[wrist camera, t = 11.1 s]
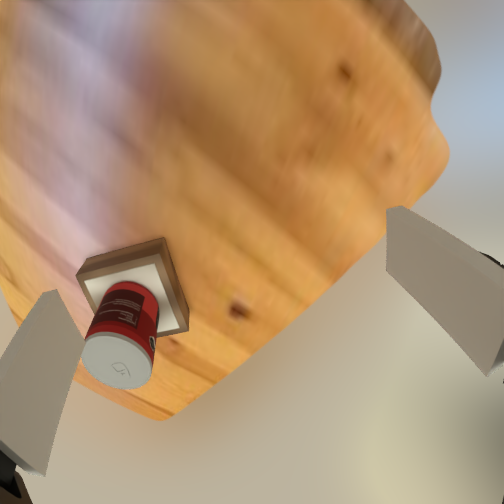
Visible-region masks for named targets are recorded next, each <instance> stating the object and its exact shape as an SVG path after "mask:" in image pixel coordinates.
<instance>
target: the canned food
mask: <svg viewBox="0 0 504 504" xmlns="http://www.w3.org/2000/svg"><path fill="white" fill-rule="evenodd" d="M159 316H160V310H159V307H158V303H157V301H156V299H155V297H154V296H153V294H152V293H151V292H150V291H149V290H148V289H147V288H145V287H144V286H142V285H140V284H138V283H134V282H128V281H126V282H119V283H116V284H115V285H113V286H111V287H110V288H109V289H108V290H107V291H106V292H105V294H104V296H103V298H102V300H101V302H100V305H99V307H98V309H97V311H96V314H95V316H94V318H93V320H92V323H91V325H90V327H89V330H88V332H87V334H86V337H85V342H86V344H85V347H84V349H83V352H82V355H81V358H82V362H83V364H84V366H85V368H86V369H87V370H88V372H89V373H90V374H91V375H92V376H93V377H94V378H96V379H97V380H98V381H100V382H102V383H104V384H106V385H108V386H110V387H114V388H118V389H135V388H138V387H141V386H143V385H144V384H146V383H147V381H148V380H149V378H150V376H151V373H152V367H153V361H154V353H155V345H156V337H157V330H158V323H159Z"/></svg>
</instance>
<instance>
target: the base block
mask: <svg viewBox="0 0 504 504" xmlns="http://www.w3.org/2000/svg"><path fill="white" fill-rule="evenodd" d="M75 276H76V278H77V280H78V282H79V284H80V286H81V288H82V291H83V293H84V295H85V297H86V299H87V301H88V303H89V305H90V307H91V309H92V311H93V312H94V314H96V311H97V309H98V307H99V305H100V302H101V300H102V298H103V296H104V294H105V292H106V291H107V290H108V289H109V288H110V287H111V286H113V285H115V284H116V283H119V282H126V281H128V282H134V283H138V284H140V285H142V286H144V287H145V288H147V289H148V290H149V291H150V292H151V293H152V294H153V296H154V297H155V299H156V301H157V303H158V307H159V310H160V316H159V323H158V330H157V337H156V338H158V337H163V336H168V335H173V334H177V333H182V332H187V331H189V308H188V305H187V303H186V300H185V297H184V294H183V292H182V289H181V286H180V283H179V280H178V277H177V275H176V272H175V269H174V266H173V263H172V260H171V257H170V254H169V251H168V248H167V245H166V242H165V239H164V238H160V239H157V240H153V241H149V242H145V243H141V244H138V245H134V246H130V247H126V248H123V249H119V250H116V251H112V252H108V253H105V254H101V255H98V256H94V257H90V258H87V259H86V261H85V262H84V264H83V265H82V266H81V268H80V269H79V271H78V272H77V274H76V275H75Z"/></svg>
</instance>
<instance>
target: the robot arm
mask: <svg viewBox="0 0 504 504" xmlns="http://www.w3.org/2000/svg"><path fill="white" fill-rule="evenodd" d="M386 219H387V256H386V259H387V260H386V271H387V272H388V273H389V274H390V275H391V276H392V277H393V278H394V279H395V280H396V281H397V282H398V283H399V284H400V285H401V286H402V287H403V288H404V289H405V290H406V291H407V292H408V293H409V294H410V295H411V296H412V297H413V298H414V299H415V300H416V301H417V302H418V303H419V304H420V305H421V306H422V307H423V308H424V309H425V310H426V311H427V312H428V313H429V314H430V315H431V316H432V317H433V318H434V319H435V320H436V321H437V322H438V323H439V324H440V326H441V327H442V328H443V329H444V330H445V331H446V332H447V333H448V334H449V335H450V336H451V337H452V338H453V340H454V341H455V342H456V343H457V344H458V345H459V346H460V347H461V348H462V349H463V351H464V352H465V353H466V354H467V355H468V356H469V357H470V358H471V360H472V361H473V362H474V363H475V364H476V365H477V367H478V368H479V369H480V370H481V371H482V372H483V373H484V375H485V376H486V377H488V376H489V375H491V374H492V373H494V372H495V371H496V370H498V369H499V368H501V367H502V366H503V364H504V265H503V264H502V265H500V262H498V261H497V260H495V259H494V258H492V257H491V256H489V255H487V254H484V253H481V252H479V251H477V250H475V249H474V248H472V247H471V246H469V245H467V244H466V243H464V242H463V241H461V240H459V239H458V238H456V237H455V236H453V235H452V234H450V233H448V232H447V231H445V230H443V229H442V228H440V227H438V226H437V225H435V224H433V223H432V222H430V221H428V220H427V219H425V218H423V217H421V216H420V215H418V214H416V213H414V212H413V211H411V210H409V209H407V208H405V207H404V206H398V207H394V208H389V209H386ZM85 344H86V342H85V340H84V338H83V337H82V335H81V333H80V331H79V330H78V328H77V326H76V324H75V323H74V321H73V319H72V317H71V316H70V314H69V312H68V310H67V308H66V306H65V304H64V302H63V301H62V299H61V297H60V295H59V293H58V291H57V289H56V290H52V291H48V292H44V293H43V294H42V295H41V296H40V298H39V299H38V301H37V302H36V304H35V305H34V306H33V308H32V309H31V311H30V312H29V314H28V315H27V317H26V318H25V320H24V321H23V323H22V324H21V326H20V327H19V329H18V331H17V332H16V334H15V336H14V337H13V339H12V340H11V342H10V344H9V345H8V347H7V348H6V350H5V352H4V354H3V355H2V357H1V359H0V504H33V503H32V501H31V499H30V497H29V494H28V492H27V489H26V487H25V484H24V482H23V479H22V477H21V476H20V475H19V473H18V472H16V471H15V468H16V465H18V466H19V467H21V468H22V469H23V470H24V471H26V472H27V473H28V474H32V475H38V476H43V477H45V475H46V470H47V466H48V462H49V457H50V453H51V449H52V445H53V442H54V437H55V434H56V430H57V427H58V424H59V420H60V417H61V413H62V410H63V407H64V404H65V400H66V397H67V394H68V391H69V388H70V385H71V382H72V379H73V377H74V374H75V371H76V368H77V365H78V363H79V360H80V357H81V355H82V352H83V349H84V347H85ZM503 383H504V381H503ZM502 504H504V498H503V502H502Z"/></svg>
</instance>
